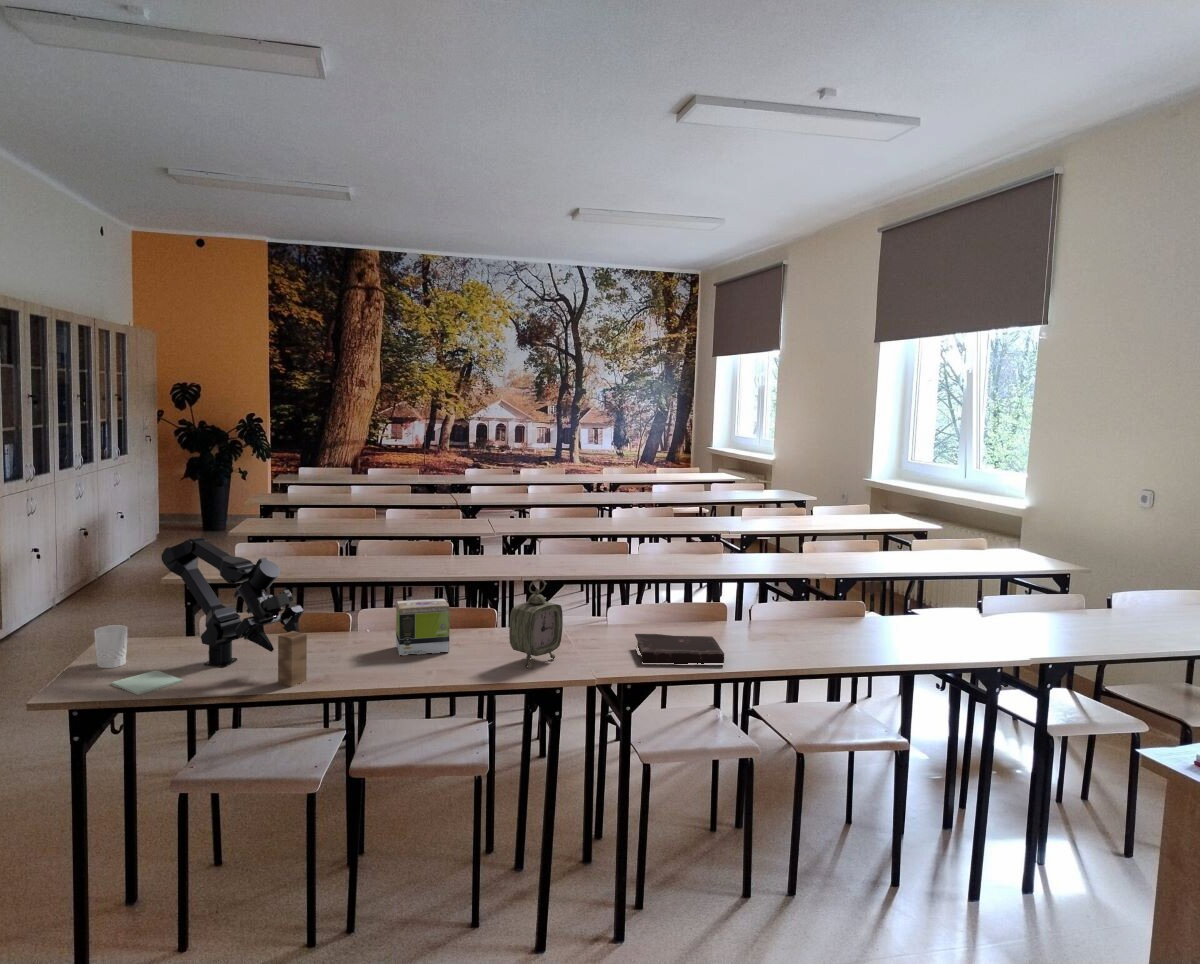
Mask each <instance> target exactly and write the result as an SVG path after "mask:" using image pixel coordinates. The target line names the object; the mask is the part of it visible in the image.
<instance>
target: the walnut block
mask: <svg viewBox="0 0 1200 964" xmlns="http://www.w3.org/2000/svg"><path fill="white" fill-rule="evenodd" d="M307 634H308V633H303V632H295V631H291V632H285V633H281V634H278V635H277V651H278V652H277V654H278V655H277V684H279V683H280V684H279V685H284V686H286V685H287V687H290V686H293V687H295V686H294V685H296V684H299V683H301V684H303V683H302V682H304V681H306V682H307V666H308V665H307V656H308V654H307V653H308V652H307V650H308V648H307V646H308V645H307V644H308V643H307V638H308V635H307ZM304 683H305V682H304ZM299 685H300V684H299ZM296 686H297V685H296Z"/></svg>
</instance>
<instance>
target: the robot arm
mask: <svg viewBox="0 0 1200 964" xmlns="http://www.w3.org/2000/svg"><path fill="white" fill-rule="evenodd" d="M160 557H161V561H162V563H163V565H164V566H165V567H166V568H167V569H168V571H169V572H171V573H173V574H175V575H176V576H178V577H180V578H181V579H182V581H183V583H184V584H185V585H186V587H187V588H188V590H189V592H190V594H191V595H192V597H194V600H195V601H196V602H197V604H198V606H199V607H200V609H201V610H202V612H203V613H204V615H205V624H204V625H205V630H204V632H203V633H202V634H201V635H200V641H201V644H202V645H206V646H208V660H207V661H205V662H204V663H203V666H210V667H222V668H223V667H225V668H226V667H228V666H230V665H231V664H233V663H234V662H236V661H238V658H237V657H233V641H235V640H239V639H244V640H245V641H246V640H247V641H249V642H252V643H254V644H256V645H258V646H260V647H262V648H263V649H265V650H266V651H269V652H271V653H272V652H273V651H274V650H275V647H274V645H273V643H272V642H271V640H270V639H269V637H268V635H267V634H266V632H265V626H268V625H271V624H275V623H280V624H281V625H282V626H283V627H282V628H283V630H285V632H286V633H288V632H291V631H295V632H300V627H299V625H300V624H299V621H300V618H301V617H302V614H304V613H305V610H304V609H303V607H302V606H301V604H294V605H291V602H292V601H293V600H294V596H293V594H292V593H291V591H290V590H289V589H285V590H282V591H280V592H279V594H276V595H273V594H268V593H267V592H266V590H267V589H269V588H270V587H271V585H272V584H273V583H274V582H275V581H276V579H277V578H278V577H279V576H280V574H281V568H280V566H279V565H278V564H277V563H275V562H273V561H271V560H268V559H267V557H260V558H259V559H258V560H257V561H256V562H255V564H254V562H252V560H249V559H247V558H244V557H239V556H234V555H230V554H229V553H227V552H226V551H224V550H222V549H221V548H219V547H217V546H216V545H215V544H213V543H210V541H207V539H206V538H205V537H202V536H199V537H193V538H188V539H186V540H184V541H182V542H181V543H179V544H176V545H173V546H168V547H165V548H164V549H163V552H162V554H161V556H160ZM199 559H201V560H202V561H204V562H206V563H207V564H208V565H210V566H212V567H213V568H214V569H217V570H218V571H219V575H220V577H221V578H222V579H223V580H224V581H225V582H226V583H228V584H230V585H233V584H234V585H235V584H239V583H241V584H240V585H239V586H236V587H235V591H234V595H233V597H235V598H238V597H241V598H242V599H243V601H244V604H246V606H247V607H248V608H247V609H246V613H247V614H248V615H249V614H252V615H251V616H248V617H245V618H243V619H241V615H240V614H238V613H237V611H236V607H234V606H233V605H229V606H227V607H226V606H225V605H223V603H222V602H221V600H220V599H219V598H218V597H217V594H216V593H215V592H214V590H213V589H212V587H211V586H210V584H209V582H208V581H207V580H206V578H205V577H204V575H203V573H202V571H201V569H199V567H198V564H199ZM287 605H290V606H287ZM284 606H285V607H286V606H287V607H286V608H285V609H284V608H283V607H284ZM283 609H284V611H282V610H283ZM280 612H282V613H280ZM300 633H301V632H300Z"/></svg>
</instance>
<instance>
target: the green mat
mask: <svg viewBox="0 0 1200 964" xmlns="http://www.w3.org/2000/svg"><path fill="white" fill-rule="evenodd" d="M183 681H184V679H182V678H179V677H177V676H174V675H170V674H168V673H165V672H163V671H160V670H151V671H148V672H145V673H141V674H137V675H133V676H130V677H126V678H122V679H118V680H115V681H110V685H111V684H112V685H111V686H114V687H116V686H117V687H116V688H119V689H121V688H122V690H124V689H125V690H124V691H126V690H127V692H129V693H133V694H135V695H142V694H145V693H150V692H153V691H156V690H160V689H163V688H166V687H171V686H173V685H177V684H180V682H181V683H183ZM159 688H160V689H159ZM155 689H156V690H155ZM152 690H153V691H152Z"/></svg>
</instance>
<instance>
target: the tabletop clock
mask: <svg viewBox="0 0 1200 964" xmlns="http://www.w3.org/2000/svg"><path fill="white" fill-rule="evenodd" d="M536 582H542V583H543V586H542V588H541V589H539V588H535V591H533V590H532V586H533V584H535V583H536ZM545 588H546V581H545V580H544V579H542V578H536V579H534V580H533V581H532V582H531V583H530V584H529V588H528V590H529V593H530V594H531V595H530V596H529V598H528V599H527V601H526V602H523V603H520V604H518V605H515V606H514V607H512V609H511V611H510V617H509V626H508V627H509V628H508V629H509V644H510V647H511V648H512V650H514V651H516V652H520V653H524V654H526V656H525V658H527V659H528V660H527V659H526V660H527V662H526V664H525V667H526V666H528V667H530V666H531V667H532V662H531V660H530V658H532V656H534V657H538V656H539V657H540V656H543V655H547V654H549V658H550V657H551V658H555V659H556V655H555V654H553V653H552V652H553V651H556V650H557V649H558V648H560V646H561V642H562V635H563V627H564V626H563V625H564V623H563V619H564V618H563V615H564V614H563V609H562V605H560V604H558V603H553V602H549V601H546V598H545V596H544V595H542V594H541V592H543V591H544V590H545ZM531 667H530V668H531Z"/></svg>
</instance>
